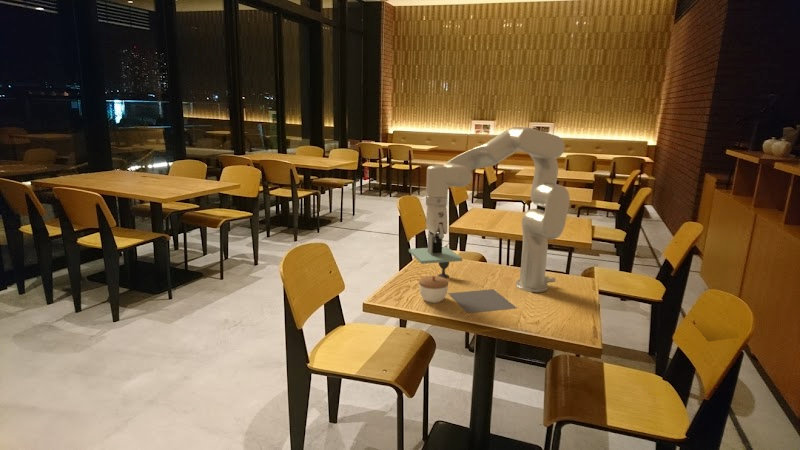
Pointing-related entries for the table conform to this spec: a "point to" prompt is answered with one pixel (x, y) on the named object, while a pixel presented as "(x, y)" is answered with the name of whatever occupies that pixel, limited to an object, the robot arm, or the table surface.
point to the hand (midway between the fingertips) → (434, 250)
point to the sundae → (444, 266)
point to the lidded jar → (433, 288)
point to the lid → (429, 257)
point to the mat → (481, 301)
